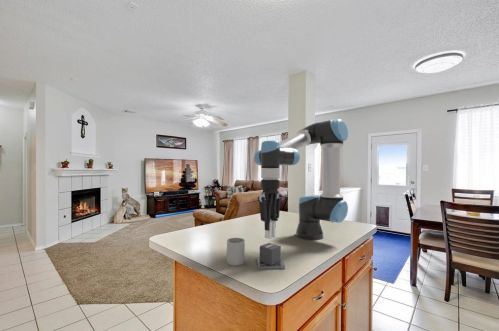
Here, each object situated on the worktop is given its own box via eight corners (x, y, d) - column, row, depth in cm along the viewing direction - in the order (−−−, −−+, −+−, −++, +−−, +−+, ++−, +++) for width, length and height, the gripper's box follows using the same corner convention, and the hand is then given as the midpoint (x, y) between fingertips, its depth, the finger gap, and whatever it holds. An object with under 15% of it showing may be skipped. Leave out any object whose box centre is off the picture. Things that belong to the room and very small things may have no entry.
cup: (230, 267, 87) (230, 244, 87) (222, 258, 96) (222, 237, 96) (247, 264, 90) (247, 241, 90) (238, 255, 99) (238, 235, 99)
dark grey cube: (268, 257, 95) (268, 242, 95) (280, 261, 91) (280, 245, 91) (259, 261, 90) (259, 245, 91) (271, 265, 86) (271, 248, 86)
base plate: (280, 258, 96) (280, 248, 96) (285, 268, 86) (285, 256, 86) (256, 259, 95) (256, 248, 95) (258, 269, 85) (258, 257, 85)
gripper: (273, 178, 99) (273, 232, 99) (251, 179, 89) (250, 239, 88) (288, 178, 94) (288, 235, 94) (266, 179, 83) (266, 243, 83)
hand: (270, 237), depth 91 cm, fingers open, 2 cm apart
